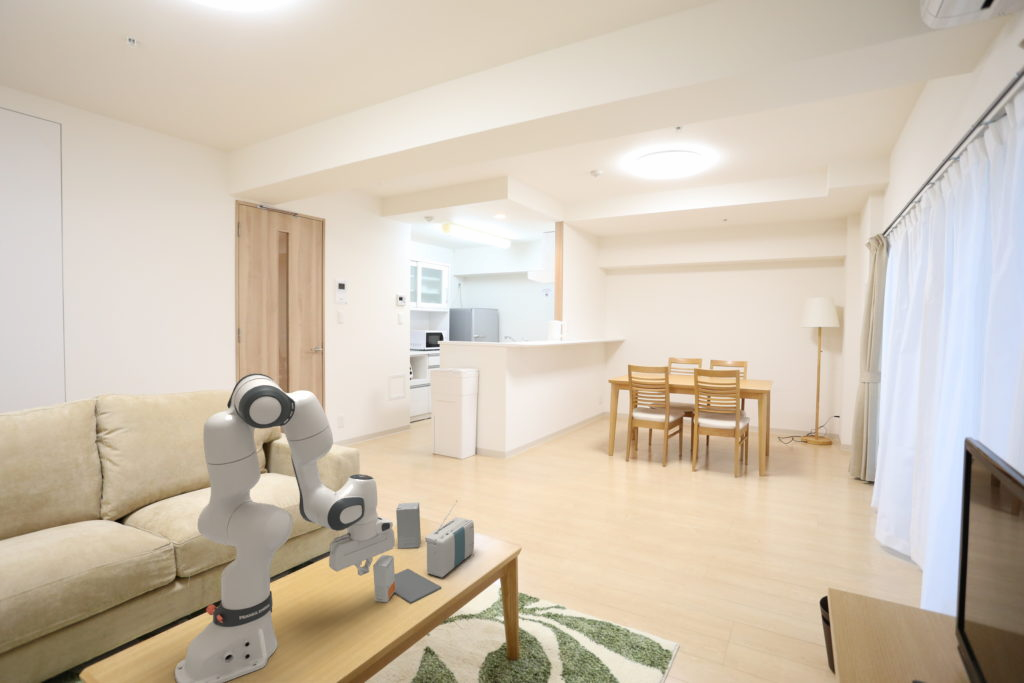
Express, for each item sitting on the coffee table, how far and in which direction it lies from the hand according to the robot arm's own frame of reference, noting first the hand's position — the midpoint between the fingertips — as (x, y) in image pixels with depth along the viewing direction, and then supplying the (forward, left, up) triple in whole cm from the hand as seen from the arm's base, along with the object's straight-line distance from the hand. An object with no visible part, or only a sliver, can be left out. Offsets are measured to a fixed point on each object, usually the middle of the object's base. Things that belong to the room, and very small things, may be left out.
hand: (363, 573), depth 148 cm
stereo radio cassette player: (+35, +1, -11) cm, 37 cm away
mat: (+17, 0, -10) cm, 20 cm away
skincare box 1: (+8, 0, -10) cm, 13 cm away
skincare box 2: (+35, +25, -11) cm, 44 cm away
